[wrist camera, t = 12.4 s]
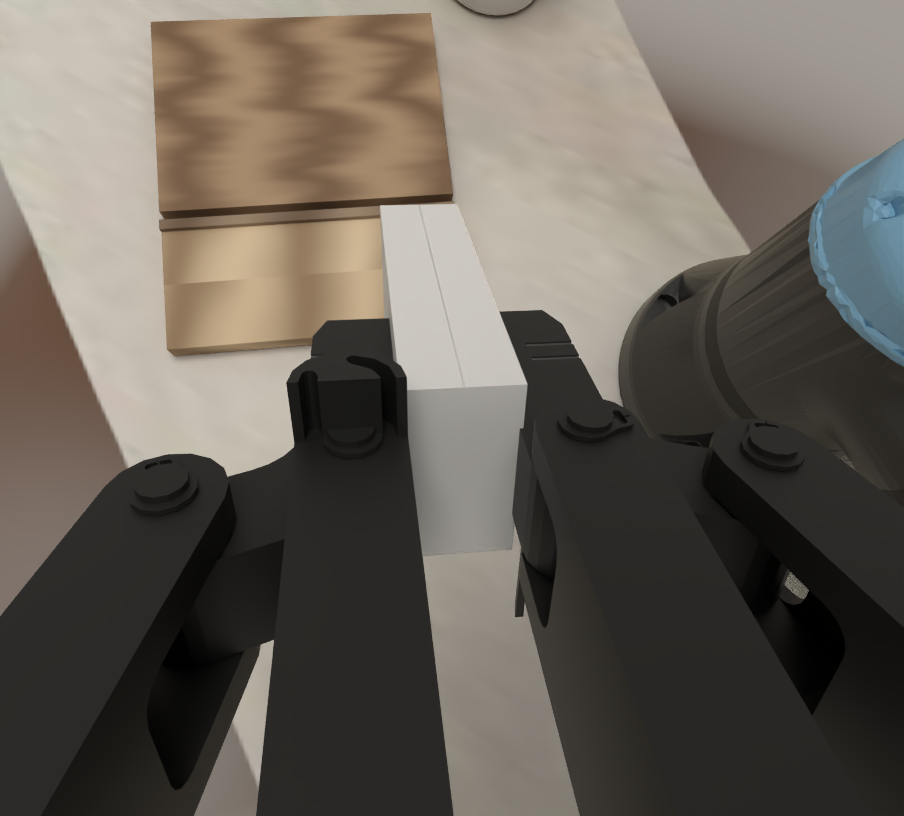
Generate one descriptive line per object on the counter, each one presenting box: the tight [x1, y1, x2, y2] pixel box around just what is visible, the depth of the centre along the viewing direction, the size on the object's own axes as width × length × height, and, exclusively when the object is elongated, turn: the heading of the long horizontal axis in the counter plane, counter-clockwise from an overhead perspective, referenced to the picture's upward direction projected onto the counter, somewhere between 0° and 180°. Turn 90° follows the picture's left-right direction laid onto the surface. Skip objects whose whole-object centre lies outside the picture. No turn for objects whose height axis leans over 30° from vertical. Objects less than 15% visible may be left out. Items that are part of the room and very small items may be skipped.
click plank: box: [151, 13, 453, 219], centre depth 45 cm, size 18×2×13 cm
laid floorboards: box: [159, 201, 455, 356], centre depth 43 cm, size 18×8×2 cm, turn 96°
